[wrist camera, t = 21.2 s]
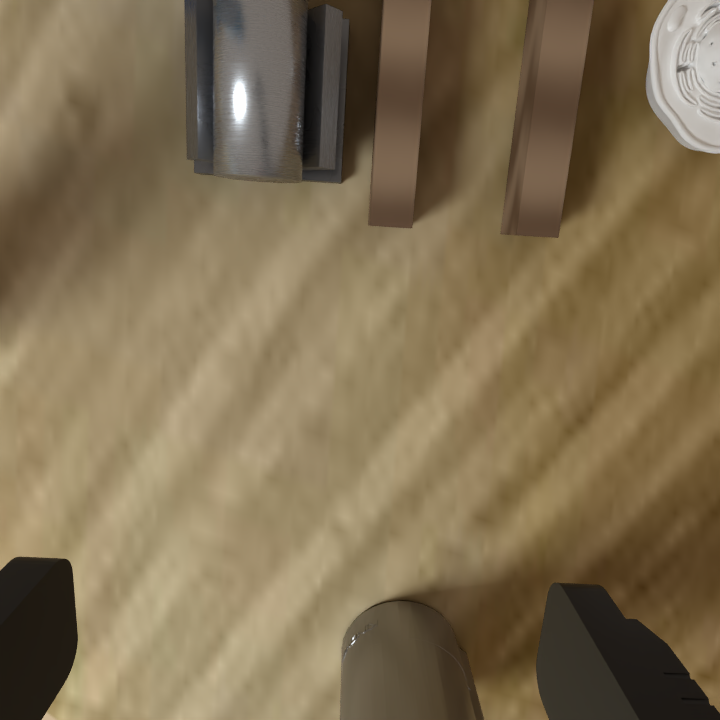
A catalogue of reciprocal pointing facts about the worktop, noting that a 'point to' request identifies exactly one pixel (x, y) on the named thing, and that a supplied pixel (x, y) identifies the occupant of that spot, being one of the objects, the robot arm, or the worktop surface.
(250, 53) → the grey metal cylinder
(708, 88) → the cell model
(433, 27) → the worktop surface
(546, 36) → the slotted block
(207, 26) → the v block
